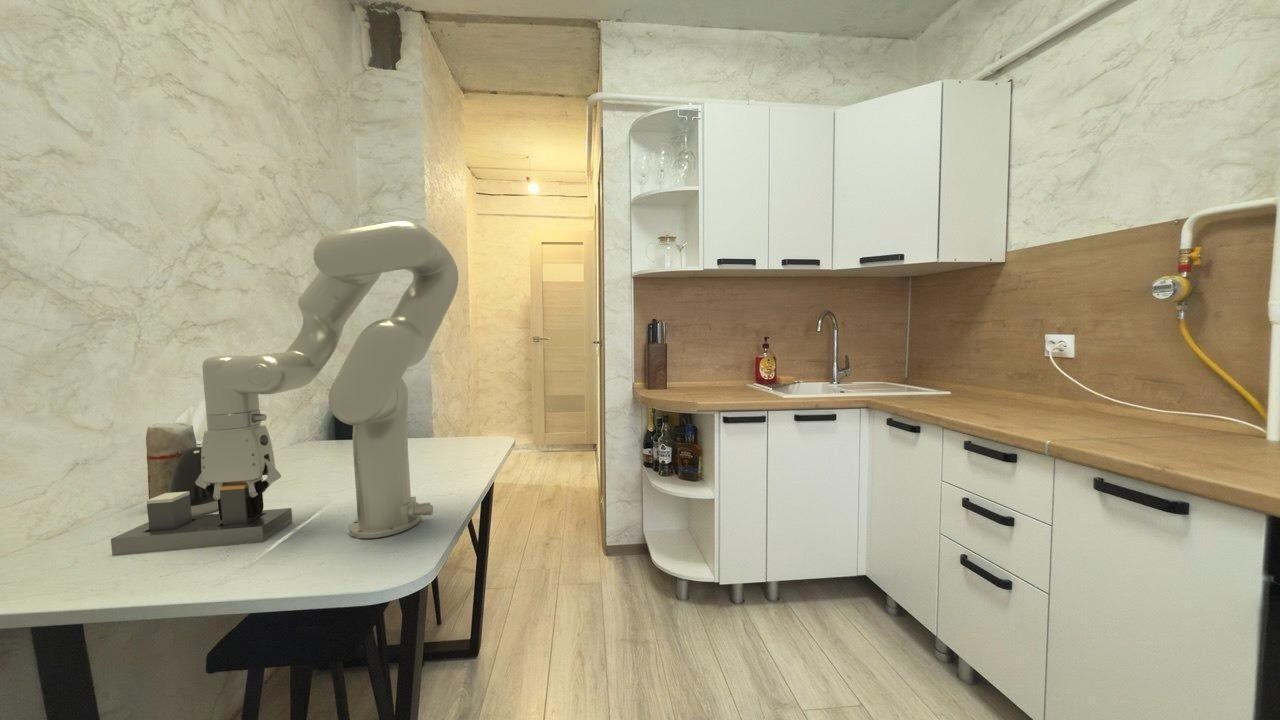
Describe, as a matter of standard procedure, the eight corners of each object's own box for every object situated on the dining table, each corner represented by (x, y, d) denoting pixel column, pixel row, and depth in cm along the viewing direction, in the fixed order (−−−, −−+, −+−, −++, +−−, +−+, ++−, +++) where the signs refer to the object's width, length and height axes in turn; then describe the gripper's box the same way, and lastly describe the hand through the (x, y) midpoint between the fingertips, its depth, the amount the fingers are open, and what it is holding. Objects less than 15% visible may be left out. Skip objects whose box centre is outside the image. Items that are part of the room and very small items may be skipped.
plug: (261, 522, 91) (258, 478, 90) (247, 530, 87) (243, 485, 86) (238, 523, 90) (235, 480, 90) (223, 532, 86) (219, 487, 86)
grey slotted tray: (292, 527, 94) (291, 507, 94) (263, 547, 85) (262, 526, 85) (157, 538, 90) (156, 518, 90) (112, 560, 82) (110, 538, 81)
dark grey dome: (194, 525, 97) (188, 453, 96) (156, 522, 99) (149, 452, 98) (245, 506, 107) (239, 441, 106) (209, 505, 109) (203, 441, 108)
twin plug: (193, 535, 89) (189, 491, 89) (175, 544, 85) (171, 498, 85) (169, 537, 88) (165, 493, 88) (151, 546, 85) (146, 500, 84)
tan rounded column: (172, 504, 110) (164, 420, 109) (210, 501, 111) (202, 419, 110) (137, 518, 102) (128, 428, 100) (179, 515, 103) (170, 426, 101)
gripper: (294, 415, 92) (301, 505, 93) (200, 420, 90) (207, 512, 91) (270, 422, 85) (278, 520, 86) (166, 427, 82) (175, 528, 83)
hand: (241, 515), depth 88 cm, fingers closed on plug, 4 cm apart
